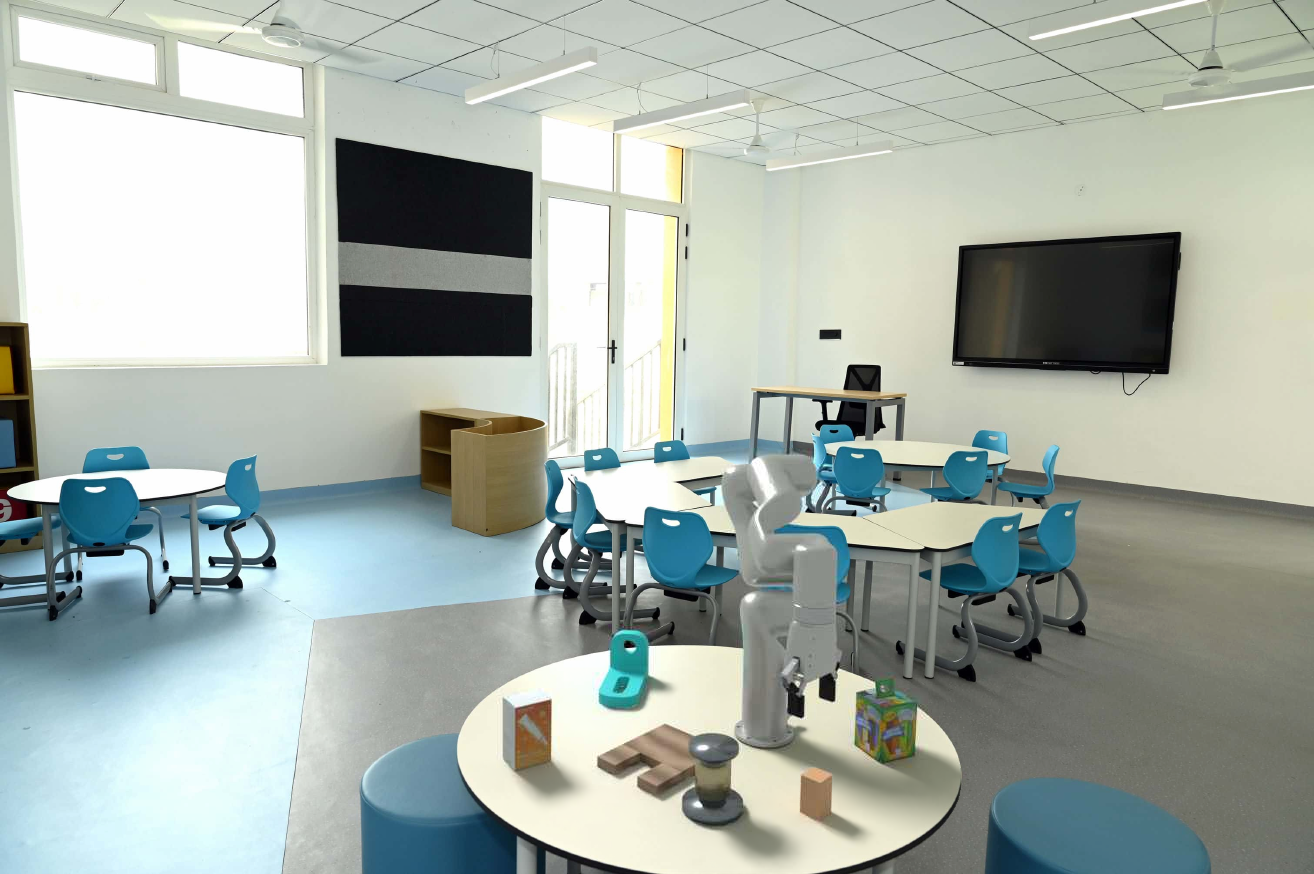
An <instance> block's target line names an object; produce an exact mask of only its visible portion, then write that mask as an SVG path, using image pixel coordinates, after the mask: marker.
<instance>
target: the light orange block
mask: <svg viewBox="0 0 1314 874" xmlns="http://www.w3.org/2000/svg"><path fill="white" fill-rule="evenodd" d="M799 792H800V795H799V796H800V797H799V813H800V814H803V815H806V816H808V817H810V818H811V819H814V820H816V821H818V822H820V821H821V820H822V819H824V818H825V817H826V816H827V815H829V814H830V813H831V812H832V798H833V797H832V796H833V794H832V793H833V774H832V773H830V772H827V771H825V770H822V769H819V768H817V767H815V766H812V767H810V768H809V769H807V770H806V771H805V772H803V773H802V774H801V775H800V791H799Z"/></svg>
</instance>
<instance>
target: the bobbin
mask: <svg viewBox="0 0 1314 874" xmlns="http://www.w3.org/2000/svg"><path fill="white" fill-rule="evenodd" d="M693 736H694V737H693V738H691V739H690V741H689V748H688V749H689V753H690V754H691V755H692V756H693V757H695V758H696V764H695V777H694V780H695V781H694V786H693V787H690V789H689V788H688V790H686V791H685V792H684V793H683V795H682V799H681V810H682V812H683V814H684V816H685V817H686V818H687V819H689V820H691V821H692V822H694V823H696V824H699V825H703V826H709V827H710V826H711V827H721V826H727V825H731V824H733V823H735V822H737V821H739V819H741V818H742V815H743V813H744V799H743V797H742V795H741V794H740V793H739V792H738V791H736V790H735V789H733V788H732V760H734V759H736V758H737V757H738V756H739V754H740V744H739V742H738V741H737V740H736V739H735V738H733V737H731V736H730V735H727V734H724V733H723V734H722V733H717V732H706V733H700V734H697V735H693Z"/></svg>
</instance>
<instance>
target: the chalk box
mask: <svg viewBox="0 0 1314 874" xmlns="http://www.w3.org/2000/svg"><path fill="white" fill-rule="evenodd" d="M874 685H875V688H870V689H864V690H860V691H856V692H855V696H856V697H855V715H854V716H855V721H854V723H855V724H854V741H853V744H854V745H855V746H856V747H858V748H859V749H861V750H862V751H864V752H865V753H867V754H868V755H869V756H871V757H872V758H873V759H875V760H877V762H879V763H885V762H889V761H893V760H898V759H903V758H907V757H913V756H915V755H916V739H917V738H916V737H917V735H916V734H917V721H918V720H917V719H918V718H917V717H918V702H916V701H915V700H914V699H911V698H910V697H908V696H907V695H906V694H905V693H903V692H901V691H898V690H896V689H895V686H894V685H895V684H894V679H893V678H891V677H889V678H884V679H879V680H875V682H874ZM884 685H886V686H884ZM882 686H883V687H882Z"/></svg>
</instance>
